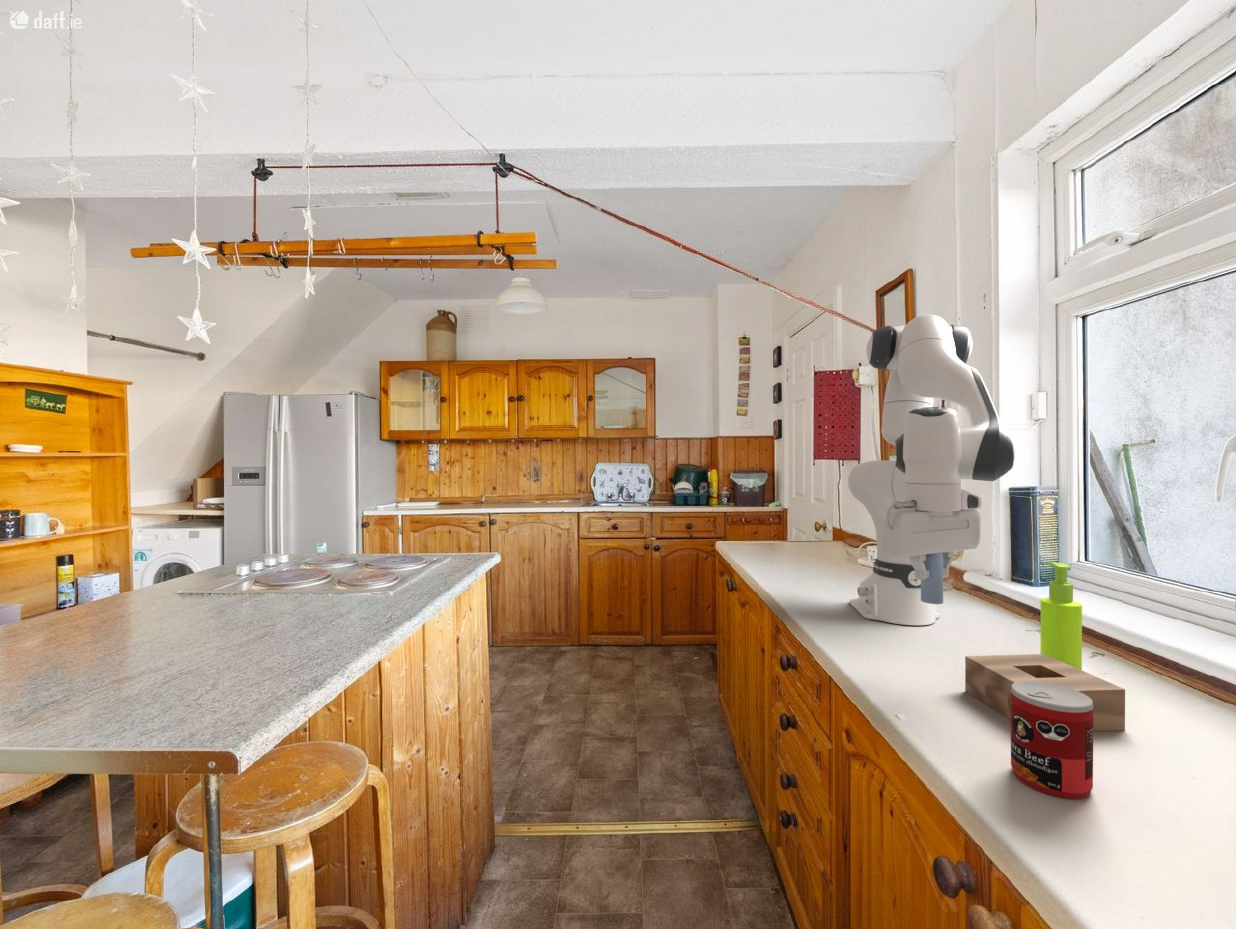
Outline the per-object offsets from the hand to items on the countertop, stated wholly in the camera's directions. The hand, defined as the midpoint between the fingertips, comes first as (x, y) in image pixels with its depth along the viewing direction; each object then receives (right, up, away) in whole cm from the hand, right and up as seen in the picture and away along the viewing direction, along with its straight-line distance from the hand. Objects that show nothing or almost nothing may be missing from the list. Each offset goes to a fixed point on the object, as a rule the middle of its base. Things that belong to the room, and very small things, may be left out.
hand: (931, 578), depth 94 cm
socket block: (+11, -19, -9) cm, 24 cm away
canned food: (-2, -19, -28) cm, 34 cm away
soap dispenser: (+27, -19, +5) cm, 33 cm away
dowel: (0, -4, 0) cm, 4 cm away
